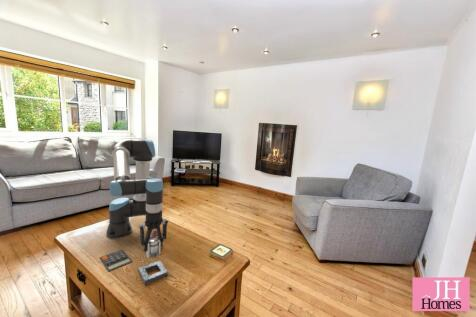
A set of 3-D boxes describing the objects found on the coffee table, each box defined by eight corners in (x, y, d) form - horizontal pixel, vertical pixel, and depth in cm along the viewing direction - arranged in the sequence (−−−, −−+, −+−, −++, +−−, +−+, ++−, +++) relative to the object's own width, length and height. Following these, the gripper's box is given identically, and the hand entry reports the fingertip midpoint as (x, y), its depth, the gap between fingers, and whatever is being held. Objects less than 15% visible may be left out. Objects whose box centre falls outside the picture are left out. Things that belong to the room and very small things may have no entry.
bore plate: (138, 271, 106) (138, 267, 105) (160, 263, 113) (160, 260, 112) (144, 284, 97) (144, 280, 97) (167, 275, 104) (167, 271, 104)
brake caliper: (157, 251, 119) (147, 233, 120) (144, 258, 123) (135, 240, 124) (169, 241, 130) (160, 225, 131) (157, 248, 133) (148, 231, 134)
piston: (147, 254, 104) (147, 239, 103) (156, 251, 107) (156, 236, 106) (149, 259, 100) (150, 243, 99) (159, 255, 103) (159, 241, 102)
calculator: (122, 248, 122) (132, 260, 112) (122, 250, 122) (132, 262, 113) (99, 257, 113) (108, 270, 104) (99, 258, 113) (108, 272, 104)
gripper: (136, 217, 92) (136, 265, 95) (174, 209, 103) (173, 252, 106) (132, 211, 97) (132, 256, 101) (169, 204, 109) (167, 245, 112)
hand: (153, 254), depth 103 cm, fingers closed on piston, 5 cm apart
